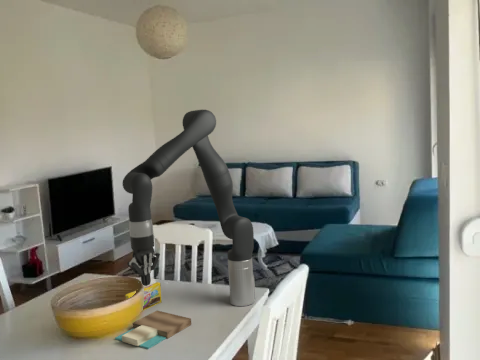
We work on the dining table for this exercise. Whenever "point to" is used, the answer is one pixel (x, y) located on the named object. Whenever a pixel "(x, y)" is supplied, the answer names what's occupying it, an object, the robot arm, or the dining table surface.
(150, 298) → the candy box
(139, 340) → the tile
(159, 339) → the mat
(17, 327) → the dining table surface
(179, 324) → the wooden board
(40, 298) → the dining table surface
